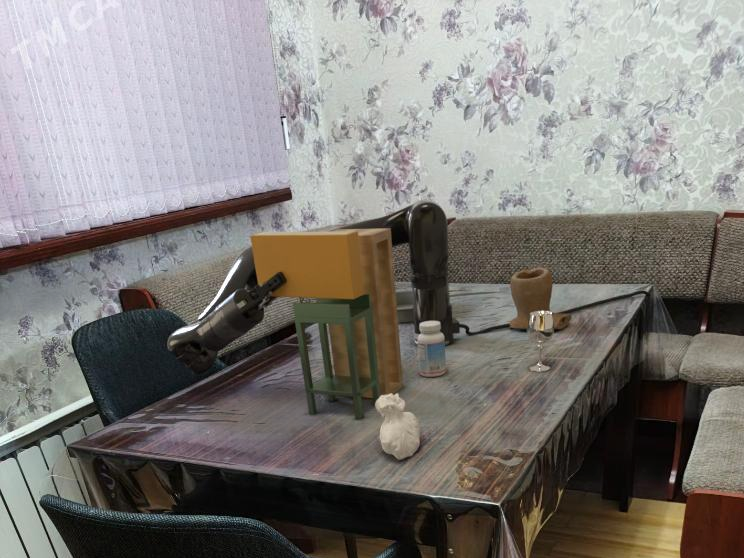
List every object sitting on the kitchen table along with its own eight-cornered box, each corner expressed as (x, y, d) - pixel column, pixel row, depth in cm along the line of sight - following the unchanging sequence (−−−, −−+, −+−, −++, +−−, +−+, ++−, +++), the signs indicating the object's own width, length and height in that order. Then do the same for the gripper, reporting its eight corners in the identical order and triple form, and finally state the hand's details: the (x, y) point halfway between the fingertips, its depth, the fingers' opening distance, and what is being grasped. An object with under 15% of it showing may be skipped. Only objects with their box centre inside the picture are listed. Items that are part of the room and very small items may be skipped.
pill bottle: (449, 369, 161) (447, 319, 156) (442, 378, 156) (439, 327, 151) (424, 368, 163) (421, 319, 158) (416, 377, 158) (412, 326, 153)
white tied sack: (411, 448, 130) (372, 400, 128) (441, 426, 126) (401, 376, 124) (388, 476, 121) (345, 425, 118) (420, 454, 116) (376, 400, 114)
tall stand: (337, 395, 152) (316, 236, 136) (355, 383, 158) (337, 229, 142) (386, 399, 147) (371, 235, 131) (403, 386, 153) (390, 228, 137)
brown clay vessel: (502, 334, 183) (502, 273, 175) (516, 322, 192) (516, 264, 185) (560, 336, 177) (563, 274, 169) (572, 324, 186) (574, 264, 178)
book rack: (309, 414, 144) (292, 303, 133) (331, 399, 150) (317, 292, 139) (360, 419, 139) (347, 305, 128) (381, 403, 146) (370, 293, 134)
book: (260, 296, 138) (249, 235, 132) (271, 291, 141) (262, 231, 135) (353, 299, 129) (347, 234, 124) (364, 294, 132) (358, 230, 127)
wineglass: (552, 372, 154) (554, 316, 148) (525, 372, 155) (526, 317, 149) (553, 364, 159) (554, 309, 153) (527, 364, 160) (527, 310, 154)
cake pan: (463, 306, 213) (463, 290, 210) (421, 327, 195) (420, 310, 193) (395, 302, 225) (393, 287, 223) (349, 321, 207) (348, 305, 205)
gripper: (203, 308, 139) (257, 262, 128) (246, 291, 150) (299, 248, 139) (225, 342, 141) (280, 300, 130) (266, 323, 151) (320, 283, 141)
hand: (290, 273), depth 135 cm, fingers closed on book, 4 cm apart
